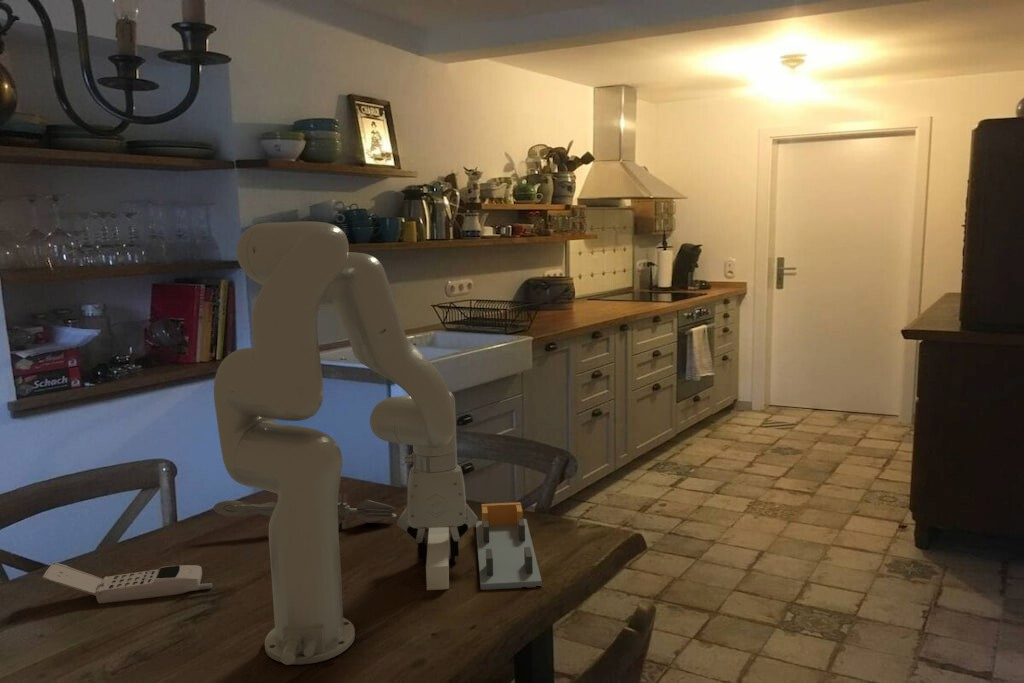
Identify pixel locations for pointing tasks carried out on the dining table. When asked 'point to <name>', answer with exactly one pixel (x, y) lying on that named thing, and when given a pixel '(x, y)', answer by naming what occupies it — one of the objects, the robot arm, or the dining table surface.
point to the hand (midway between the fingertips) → (438, 559)
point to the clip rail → (505, 548)
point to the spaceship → (364, 510)
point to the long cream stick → (438, 559)
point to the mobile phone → (130, 582)
